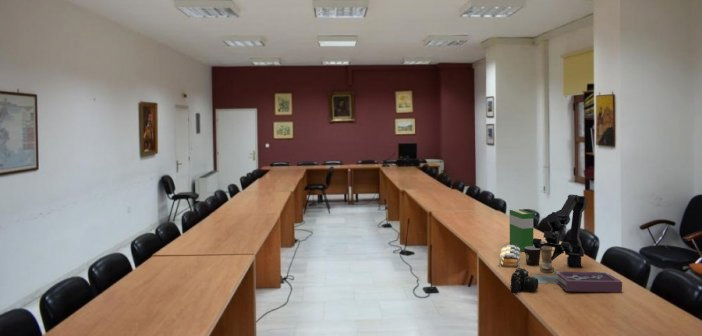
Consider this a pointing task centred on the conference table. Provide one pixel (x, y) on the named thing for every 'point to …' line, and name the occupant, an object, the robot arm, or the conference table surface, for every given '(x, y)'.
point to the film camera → (523, 281)
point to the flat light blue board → (545, 278)
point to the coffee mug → (532, 255)
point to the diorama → (510, 253)
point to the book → (588, 281)
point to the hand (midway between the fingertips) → (547, 259)
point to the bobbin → (546, 260)
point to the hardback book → (521, 229)
